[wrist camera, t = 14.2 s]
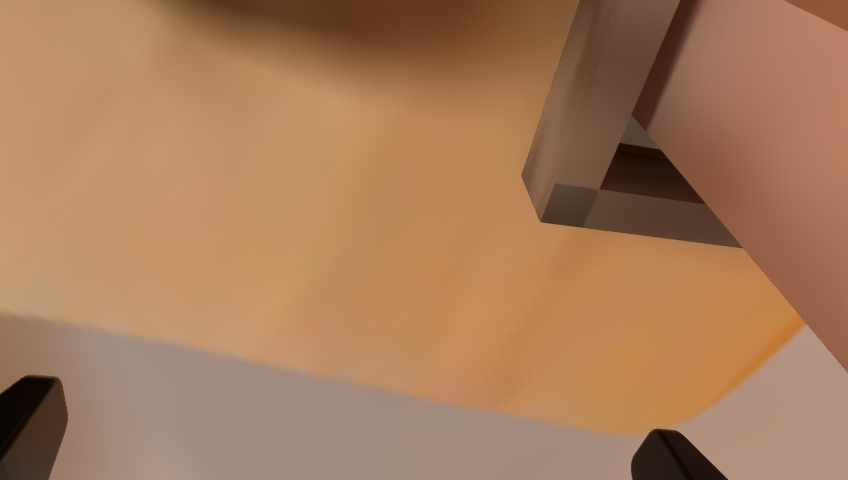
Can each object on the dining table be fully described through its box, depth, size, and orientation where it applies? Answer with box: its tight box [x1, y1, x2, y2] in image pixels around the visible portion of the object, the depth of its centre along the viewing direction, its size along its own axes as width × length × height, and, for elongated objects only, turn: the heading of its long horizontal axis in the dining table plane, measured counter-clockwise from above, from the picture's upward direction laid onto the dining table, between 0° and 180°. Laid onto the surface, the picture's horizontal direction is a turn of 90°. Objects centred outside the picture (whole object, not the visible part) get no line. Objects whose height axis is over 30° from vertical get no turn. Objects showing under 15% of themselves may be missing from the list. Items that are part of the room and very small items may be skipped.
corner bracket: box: [522, 0, 743, 248], centre depth 19 cm, size 12×12×3 cm
